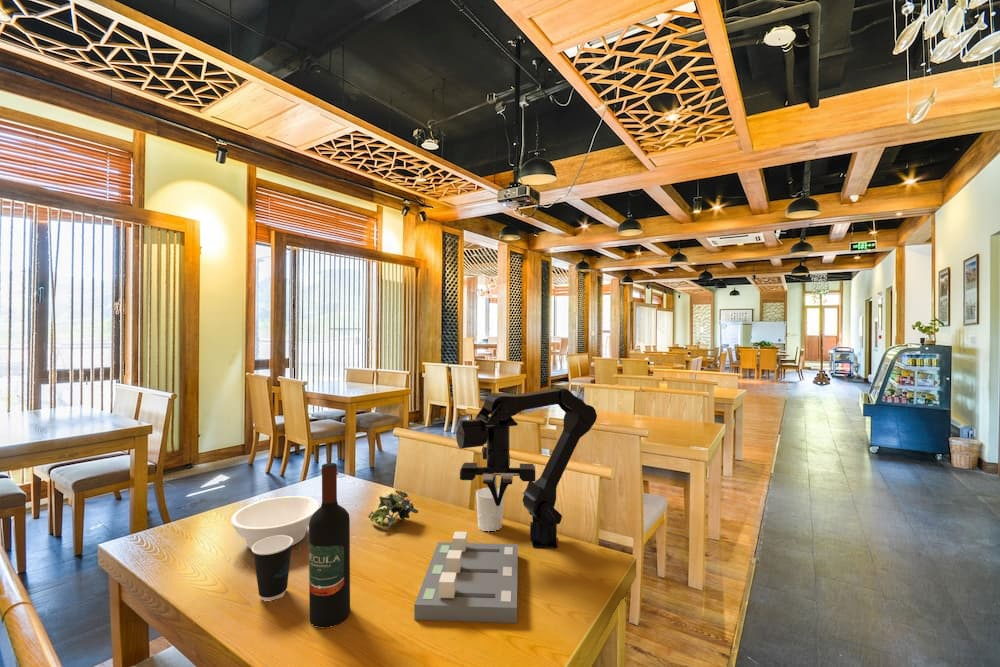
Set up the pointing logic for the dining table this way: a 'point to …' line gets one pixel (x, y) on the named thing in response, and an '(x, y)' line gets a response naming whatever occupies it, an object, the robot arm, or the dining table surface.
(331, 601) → the wine bottle
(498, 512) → the white cup
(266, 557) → the dixie cup
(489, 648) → the dining table surface
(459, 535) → the block
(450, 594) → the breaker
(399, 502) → the green leafy clump
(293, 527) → the bowl
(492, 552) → the grey slider switch panel
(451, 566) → the block
